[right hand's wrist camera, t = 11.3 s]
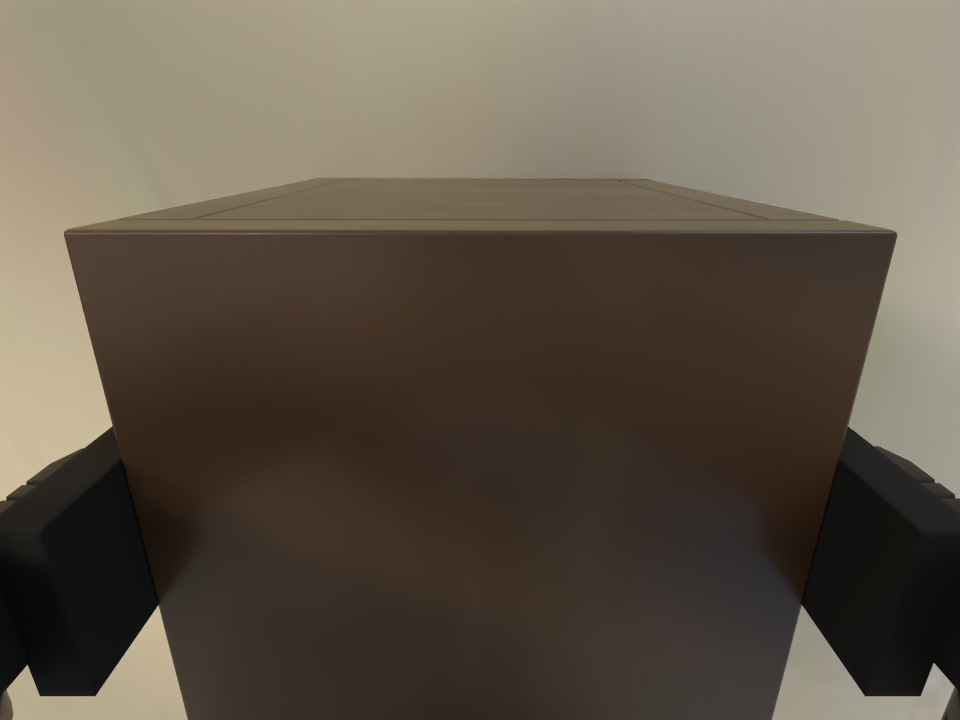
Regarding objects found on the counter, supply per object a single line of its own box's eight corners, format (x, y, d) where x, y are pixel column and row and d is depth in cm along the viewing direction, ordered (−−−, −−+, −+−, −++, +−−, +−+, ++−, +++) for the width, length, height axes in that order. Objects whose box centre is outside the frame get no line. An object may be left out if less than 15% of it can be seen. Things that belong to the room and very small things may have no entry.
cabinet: (597, 651, 25) (688, 1045, 14) (361, 651, 25) (269, 1045, 14) (644, 178, 18) (901, 230, 7) (316, 178, 18) (60, 230, 7)
